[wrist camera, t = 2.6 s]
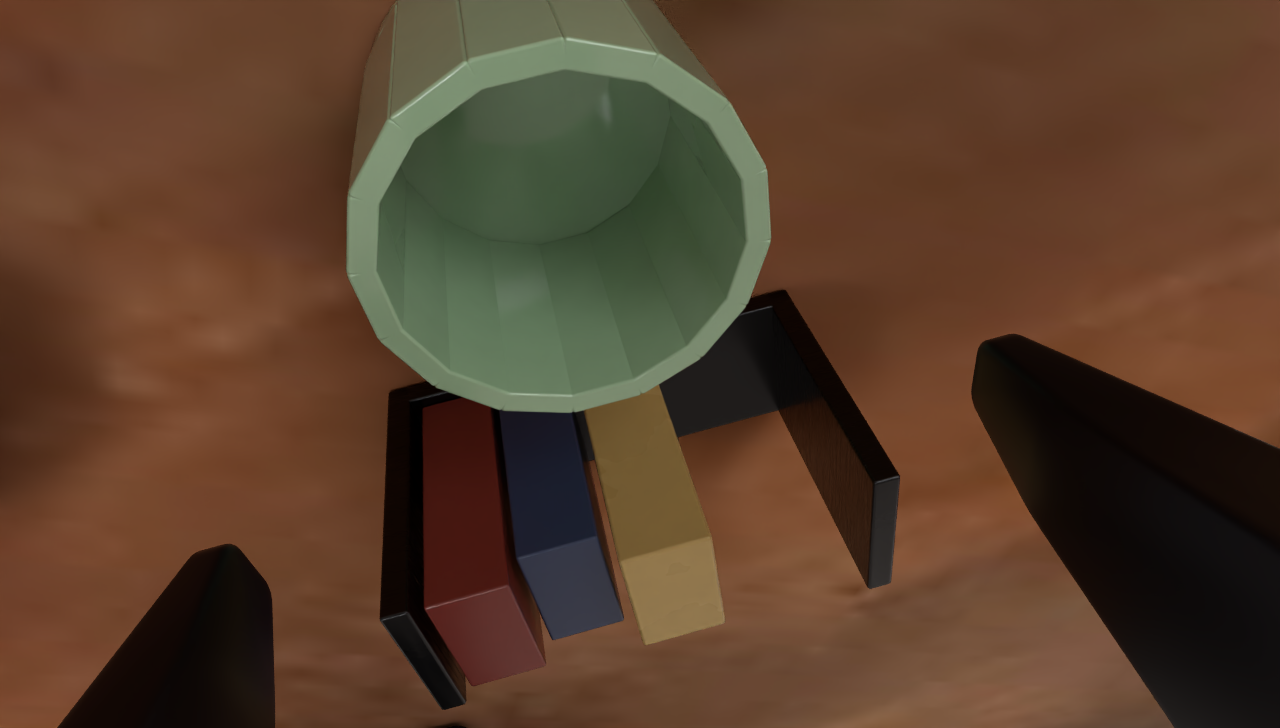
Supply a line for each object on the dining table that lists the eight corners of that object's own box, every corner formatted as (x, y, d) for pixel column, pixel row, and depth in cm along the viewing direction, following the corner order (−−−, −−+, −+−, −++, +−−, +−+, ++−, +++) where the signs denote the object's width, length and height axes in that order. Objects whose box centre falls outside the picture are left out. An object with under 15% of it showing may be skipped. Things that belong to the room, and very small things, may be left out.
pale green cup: (428, 274, 19) (431, 451, 15) (310, -18, 15) (264, 108, 10) (696, 207, 20) (779, 359, 15) (657, -98, 15) (758, -10, 11)
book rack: (436, 487, 24) (441, 711, 19) (387, 391, 21) (378, 621, 16) (790, 392, 25) (891, 584, 19) (785, 288, 22) (901, 476, 17)
